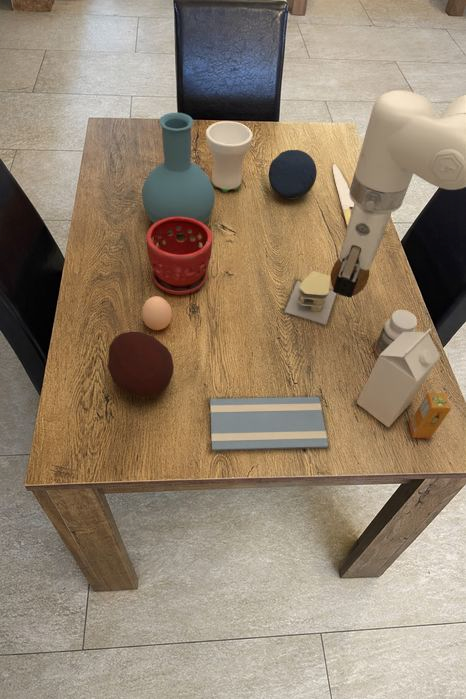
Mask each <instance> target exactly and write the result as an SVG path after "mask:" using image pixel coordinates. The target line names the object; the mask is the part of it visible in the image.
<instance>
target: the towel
mask: <svg viewBox="0 0 466 699" xmlns="http://www.w3.org/2000/svg"><path fill="white" fill-rule="evenodd" d="M209 405H210V407H209V410H210V434H211V435H210V437H211V451H212V452H216V451H217V452H219V451H221V452H222V451H224V452H225V451H258V450H259V451H260V450H293V449H294V450H298V449H328V448H329V442H328V435H327V430H326V425H325V420H324V415H323V408H322V403H321V398H320V396H288V397H284V396H283V397H234V398H233V397H231V398H230V397H229V398H225V397H224V398H210V399H209Z"/></svg>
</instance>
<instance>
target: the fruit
mask: <svg viewBox="0 0 466 699" xmlns="http://www.w3.org/2000/svg"><path fill="white" fill-rule="evenodd" d="M348 258H349V255H348ZM357 261H359V258H357ZM342 264H343V262H341V261H340V259H339V258H338V259H337V260H336V261H335V262H334V264H333V266H332V269H331V271H330V275H329V276H330V277H331V278H330V285H331V286H332V290H333V289H334V285H335V282H336V279H337V275H338V273H339V272H340V270H341V267H342ZM356 268H357V267H355V266H354V269H353V271H352V273H355V270H356ZM357 278H358V281H357V284H356V286H355V289H354V292H353V295H352V297H353V296H356V295H358V294H359V293H360V292H362V291H363V290H364V288H365V287H366V286H367V284H368V281H369V278H370V269H368V270H363V269H361V268H360V270H359V273H358V276H357ZM338 295H339V296H342V297H346V296H343V295H340V294H338Z"/></svg>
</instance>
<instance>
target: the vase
mask: <svg viewBox="0 0 466 699" xmlns="http://www.w3.org/2000/svg"><path fill="white" fill-rule="evenodd" d="M194 121H195V120H194V119H193V118H192V117H191V116H190V115H189V114H186V113H183V112H169V113H165V114H163V115H162V116H160V118H159V119H158V123H159V126H160V127H161V139H162V148H163V149H162V151H163V159H164V161H163V162H161V163H160V164H158V165H157V166H155V167H154V168H153V169H151V171H150V172H149V174H148V176H147V177H146V179H145V181H144V182H143V185H142V188H141V199H142V203H143V207H144V212H145V214H146V216H147V217H148V219H150V220H151V222H152V223H153V224H155V223H156V222H158V221H160V220H162V219H165V218H169V217H188V218H192V219H195V220H197V221H200V222H202V223H203V224H204V225H206V223H207V222H208V220H209V219H210V218H211V215H212V213H213V209H214V207H215V202H216V195H215V190H214V186H213V183H212V180H211V179H210V177H209V176H208V174H207V173H206V171H204V170H203V169H202V168H201V167H200V166H199V165H198V164H196V163H195V162H192V161H191V160H192V159H191V158H192V127H193V125H194V123H195V122H194ZM176 228H177V229H180V228H181V227H180V226H178V227H176ZM188 231H189V232H192V230H190V229H189V230H188ZM172 232H173V231H171V230H170V231H168V233H167V234H172ZM181 235H183V236H184V234H182V233H179V234H177V235H176V236H181Z"/></svg>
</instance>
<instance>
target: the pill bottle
mask: <svg viewBox="0 0 466 699" xmlns="http://www.w3.org/2000/svg"><path fill="white" fill-rule="evenodd" d="M417 325H418V319H417V317H416V315H415V314H413V313H412V312H411V311H409V310H406V309H397V310H395V311H393V313H392V314H391V315H390V318H389V319H387V320H386V321H385V323H384V325H383V327H382V330H381V332H380V334H379V335H378V336H379V337H378V338H377V340H376V343H375V346H374V350H375V353H376V354H377V356H378V357H379V355H380V354H381V353H382V352H383V351H384V350H385V349H386V348H387V347H388V346H389V345H390V344H391V343H392V342H393V341H394V340H396V339H397V338H398V337H399V336H400V335H401V334H402V333H403V332H416V326H417Z"/></svg>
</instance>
